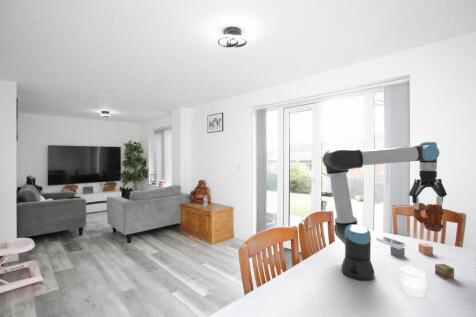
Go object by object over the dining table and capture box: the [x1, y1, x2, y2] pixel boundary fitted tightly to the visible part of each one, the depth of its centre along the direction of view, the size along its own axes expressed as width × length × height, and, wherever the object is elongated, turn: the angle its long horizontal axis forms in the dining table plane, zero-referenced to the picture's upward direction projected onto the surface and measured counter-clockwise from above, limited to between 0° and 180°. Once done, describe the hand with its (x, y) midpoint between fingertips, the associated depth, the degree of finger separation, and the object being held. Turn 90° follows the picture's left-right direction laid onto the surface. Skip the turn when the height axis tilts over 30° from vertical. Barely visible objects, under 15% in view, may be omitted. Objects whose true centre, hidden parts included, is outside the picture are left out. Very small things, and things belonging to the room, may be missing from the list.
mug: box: [413, 202, 445, 233], centre depth 131 cm, size 15×8×15 cm, turn 84°
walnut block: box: [434, 263, 455, 280], centre depth 118 cm, size 5×5×5 cm
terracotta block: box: [418, 242, 434, 256], centre depth 145 cm, size 5×5×5 cm
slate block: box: [390, 244, 406, 258], centre depth 143 cm, size 5×5×5 cm
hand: (427, 208), depth 131 cm, fingers closed on mug, 13 cm apart
